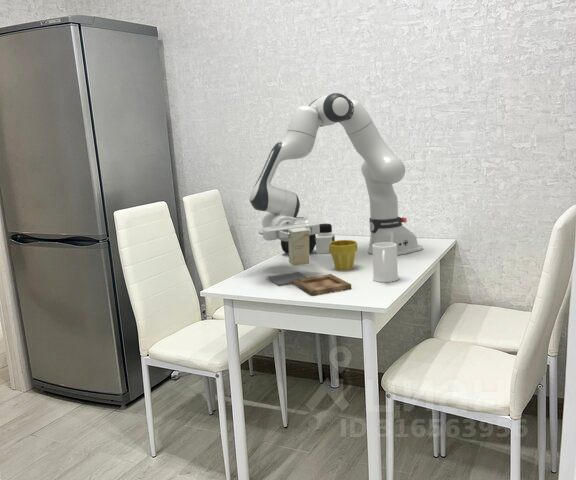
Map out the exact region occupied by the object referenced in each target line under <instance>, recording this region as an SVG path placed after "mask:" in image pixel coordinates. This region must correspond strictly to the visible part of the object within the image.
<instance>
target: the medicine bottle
mask: <svg viewBox="0 0 576 480" xmlns="http://www.w3.org/2000/svg"><path fill="white" fill-rule="evenodd" d="M319 227H320V232H319V234H316V238H315V239H316V245H315V253H316V255H322V254H323V255H324V254H330V255H331V253H330V252H329V243H330V242H332V241H336V239H335V238H336V237H335V233H333V229H332V228H333V225H332V224H330V223H327V222H326V223H324V222H323V223H319Z"/></svg>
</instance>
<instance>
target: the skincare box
mask: <svg viewBox="0 0 576 480" xmlns="http://www.w3.org/2000/svg"><path fill="white" fill-rule="evenodd" d="M288 232H289V233H290V238H288V240H289V254H288V262H289V264H290V265H291V266H293V267H297V266H305V265H309V264H310V262H311V259H310V253H309V230H308V229H307V228H305V227H301V228H294V229H288Z"/></svg>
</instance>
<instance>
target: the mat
mask: <svg viewBox="0 0 576 480" xmlns="http://www.w3.org/2000/svg"><path fill="white" fill-rule="evenodd" d="M308 277H309V276H306V275H305V274H303V273H302V272H299V271H295V272H290V273H283V274H276V275H270V276H267V279H268V280H269V281H271V283H273V284H275V285H276V286H278V287H282V286H288V285H293V280H296V279H302V278H308Z"/></svg>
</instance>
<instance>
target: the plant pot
mask: <svg viewBox="0 0 576 480" xmlns="http://www.w3.org/2000/svg"><path fill="white" fill-rule="evenodd" d="M329 252H330V253H331V254H330V255H331V258H332V262H333V265H334V269H335V270H336V271H350V270H352V269H353V268H354V264H355V258H356V253H357V252H358V242H357V240H352V239H339V240H335V241H332V242H330V243H329Z"/></svg>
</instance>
